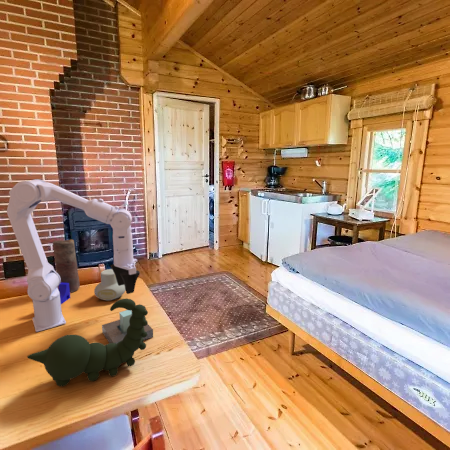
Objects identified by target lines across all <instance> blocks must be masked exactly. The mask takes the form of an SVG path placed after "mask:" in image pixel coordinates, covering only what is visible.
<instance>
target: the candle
mask: <svg viewBox="0 0 450 450" xmlns="http://www.w3.org/2000/svg"><path fill="white" fill-rule="evenodd" d="M52 247H53V248H52V249H53V255H54V264H55V271H56V272H57V273H58V274H59V276H60V278H61V282H60V283H69V288H70V294H71V293H74V292H76V291H78V290H79V289H80V286H81V285H80V278H79V277H80V276H79V272H78V271H79V270H78V261H77V256H76V254H77V253H76V247H75V240H74V239H73V238H72V239H71V238H70V239H67V240H56V241H53V242H52ZM58 289H59V286H58Z"/></svg>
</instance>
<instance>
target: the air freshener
mask: <svg viewBox="0 0 450 450" xmlns="http://www.w3.org/2000/svg"><path fill="white" fill-rule="evenodd" d="M93 292H94V293H93V294H94V295H95V297H96V298H98V299H100V300H103V301H109V302H110V301H113V300H117V299H119V298H121V297H122V296H123V295H124V294H125V293H126V290H125V285H120V286H119V285H118V283H117V280H116V277H115V274H114V272H113V270H112V268H108V269H105V270H102V271H101V272H100V282H99V283H98V284H96V286H95V288H94V290H93Z"/></svg>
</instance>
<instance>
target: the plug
mask: <svg viewBox="0 0 450 450" xmlns="http://www.w3.org/2000/svg"><path fill="white" fill-rule="evenodd" d="M118 313H119V320H120V329H121V333H125V332H127V328H128V327H129V325H130V323H129V320H130V317H131V316H132V310H131V311H130V310H127V309H125V310H123V311H119V312H118Z"/></svg>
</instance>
